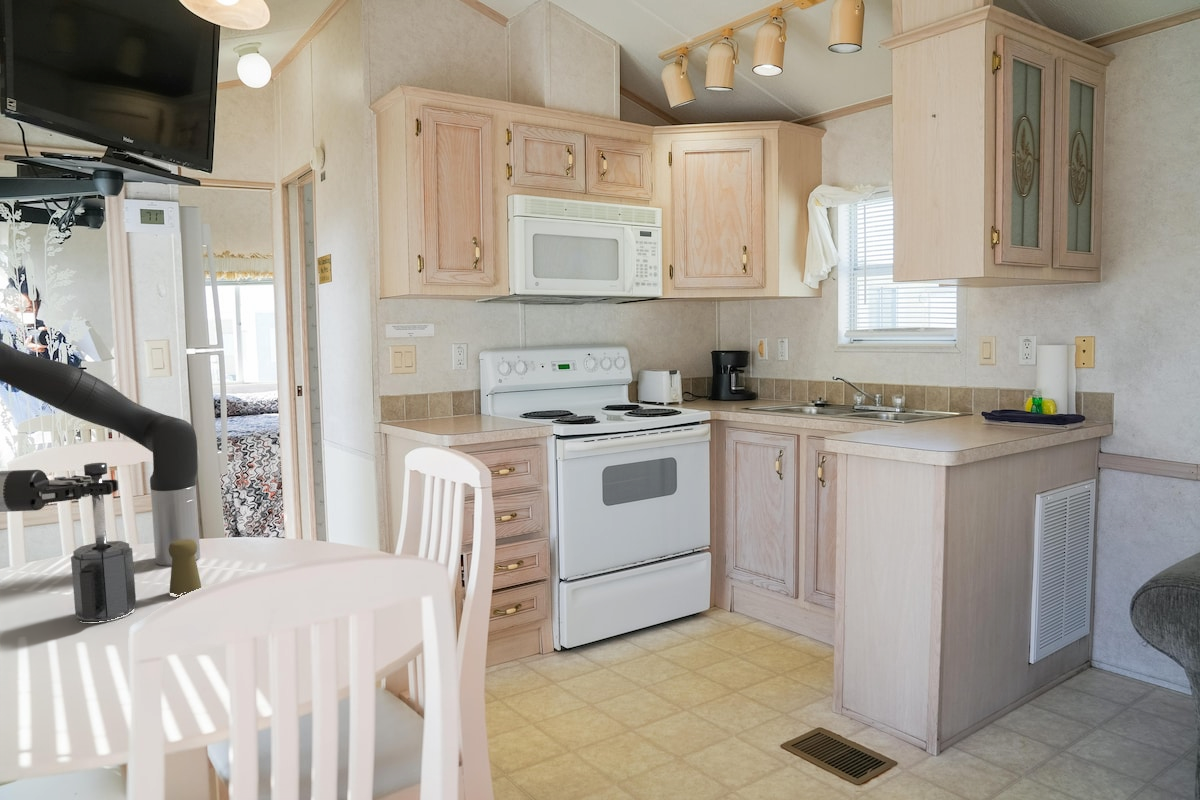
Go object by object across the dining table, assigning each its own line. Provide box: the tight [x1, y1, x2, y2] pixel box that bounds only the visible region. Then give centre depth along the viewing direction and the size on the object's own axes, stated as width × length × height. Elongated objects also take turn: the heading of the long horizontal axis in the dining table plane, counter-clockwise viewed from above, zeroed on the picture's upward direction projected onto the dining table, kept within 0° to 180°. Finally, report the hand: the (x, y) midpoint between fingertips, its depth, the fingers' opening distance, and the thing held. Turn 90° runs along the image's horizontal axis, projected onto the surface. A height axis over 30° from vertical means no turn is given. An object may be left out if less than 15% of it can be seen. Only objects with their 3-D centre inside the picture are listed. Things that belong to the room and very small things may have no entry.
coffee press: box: [70, 540, 137, 622], centre depth 153 cm, size 12×9×13 cm
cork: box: [169, 539, 202, 599], centre depth 167 cm, size 6×6×11 cm
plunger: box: [83, 462, 108, 550], centre depth 154 cm, size 6×6×21 cm
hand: (114, 486), depth 153 cm, fingers closed on plunger, 2 cm apart
